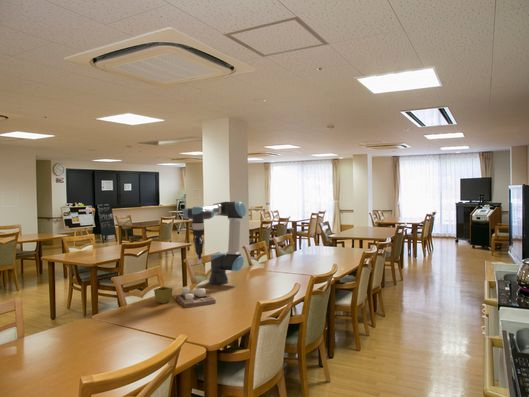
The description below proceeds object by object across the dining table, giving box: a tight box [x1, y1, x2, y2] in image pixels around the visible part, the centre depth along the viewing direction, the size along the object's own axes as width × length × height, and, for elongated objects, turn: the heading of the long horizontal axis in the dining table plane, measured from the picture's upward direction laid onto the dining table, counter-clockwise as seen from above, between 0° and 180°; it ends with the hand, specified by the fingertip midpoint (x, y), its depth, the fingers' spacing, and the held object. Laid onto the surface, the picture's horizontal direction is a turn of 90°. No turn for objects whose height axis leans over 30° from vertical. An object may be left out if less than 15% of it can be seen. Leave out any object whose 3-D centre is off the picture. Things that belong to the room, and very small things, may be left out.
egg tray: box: [174, 292, 216, 309], centre depth 259 cm, size 24×20×3 cm
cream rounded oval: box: [185, 292, 194, 300], centre depth 256 cm, size 6×6×4 cm
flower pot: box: [153, 286, 174, 304], centre depth 256 cm, size 9×9×9 cm
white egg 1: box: [181, 286, 191, 295], centre depth 263 cm, size 6×6×4 cm
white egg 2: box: [197, 287, 206, 297], centre depth 260 cm, size 6×6×4 cm
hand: (199, 263), depth 268 cm, fingers closed
